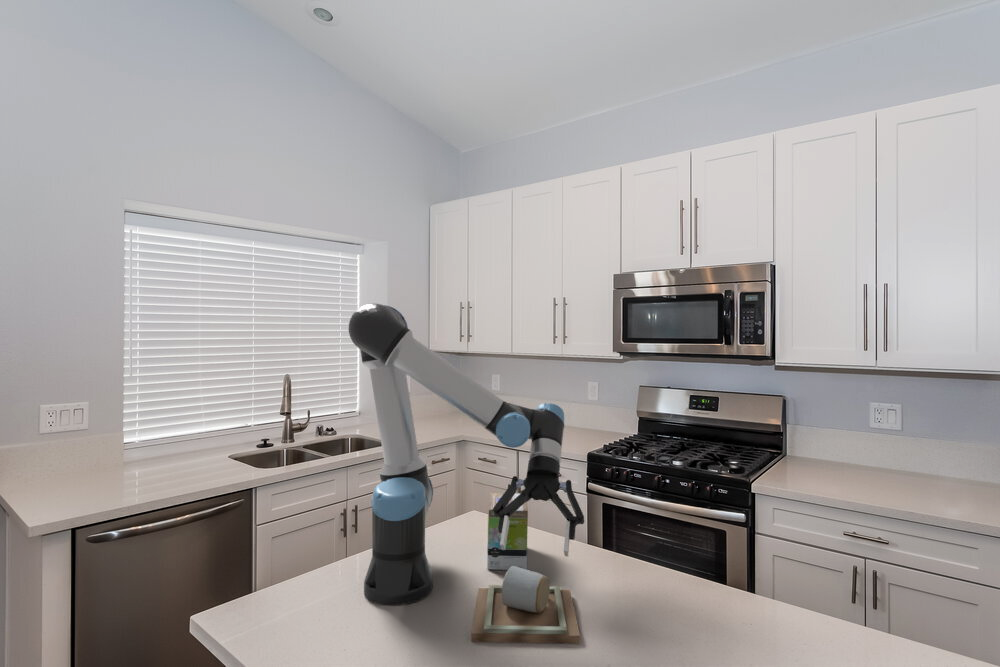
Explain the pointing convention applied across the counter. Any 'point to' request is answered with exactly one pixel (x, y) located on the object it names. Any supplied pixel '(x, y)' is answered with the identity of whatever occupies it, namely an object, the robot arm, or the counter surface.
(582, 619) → the counter surface
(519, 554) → the tea box
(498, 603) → the board
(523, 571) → the ceramic mug
